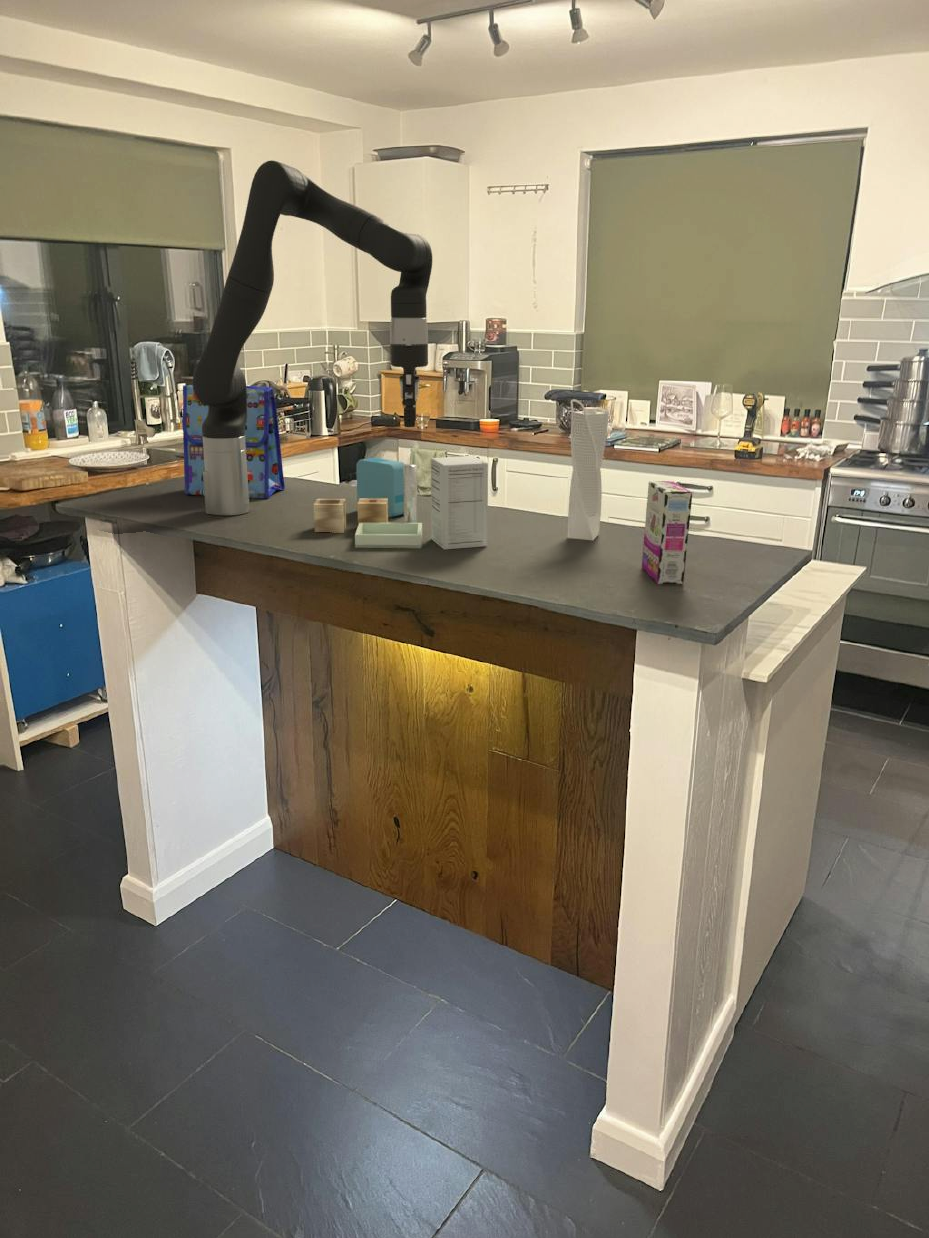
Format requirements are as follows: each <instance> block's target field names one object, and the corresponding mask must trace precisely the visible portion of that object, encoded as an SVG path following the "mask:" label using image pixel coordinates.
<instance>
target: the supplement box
mask: <svg viewBox="0 0 929 1238" xmlns="http://www.w3.org/2000/svg"><path fill="white" fill-rule="evenodd" d="M488 473H489V463H488V462H486V461H484V460H482V459H480V458H478V457H476V456H475V455H465V456H446V457H432V458H430V512H431V513H430V517H431V519H430V521H431V523H430V526H431V528H430V529H431V540H432V541H433V542H434V543H436V544H437V545H438V546H439V547H441V549H443V550H446V551H447V550H453V549H454V550H455V549H456V550H457V549H466V548H467V549H469V548H480V547H488V514H489V513H488V506H489V505H488V504H489V503H488V501H489V499H488V498H489V496H488V495H489V492H488V490H489V487H488V484H489V483H488V481H489V479H488V478H489V477H488V476H489V474H488Z"/></svg>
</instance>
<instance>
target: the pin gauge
mask: <svg viewBox="0 0 929 1238" xmlns="http://www.w3.org/2000/svg"><path fill="white" fill-rule="evenodd" d="M404 464H405V463H404ZM403 477H404V514H403V523H418V465H417V464H413V463H406V464H405V465H403Z"/></svg>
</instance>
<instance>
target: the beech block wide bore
mask: <svg viewBox="0 0 929 1238" xmlns="http://www.w3.org/2000/svg"><path fill="white" fill-rule="evenodd" d="M346 513H347V511H346V498H317V499H315V502H314V503H313V520H314V522H313V523H314V533H315V532H330V533H329V534H344V533H345V531H344V530H346V527H347V514H346ZM331 532H332V533H331Z"/></svg>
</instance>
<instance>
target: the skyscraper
mask: <svg viewBox="0 0 929 1238" xmlns="http://www.w3.org/2000/svg"><path fill="white" fill-rule="evenodd" d="M574 402H575V403H577V404H578V405H580V407H581V408H582V411H575V410H574ZM570 408H571V409H570V410H571V417H570V418H571V419H570V420H571V421H570V452H571V453H570V455H571V465H572V473H571V479H570V480H571V481H570V487H569V496H568V500H569V501H568V511H567V515H568V516H567V539H574V540H575V539H576V540H586V541H594V540H595V539H596V538H597V536H599V535H600V528H601V527H600V526H601V516H602V498H603V497H602V496H603V495H602V493H603V492H602V490H603V489H602V488H603V487H602V470H601V467H602V463H603V459H604V455H605V454H604V453H605V449H606V443H607V435H608V425H609V411H608V410H607V409H606V408H603V407H599V406H595V407H591V406H590V407H585V405H584V404H583V403H582V402H581V401H580V400H578V399H574V398H573V399H571V400H570ZM598 410H599V411H598Z"/></svg>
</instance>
